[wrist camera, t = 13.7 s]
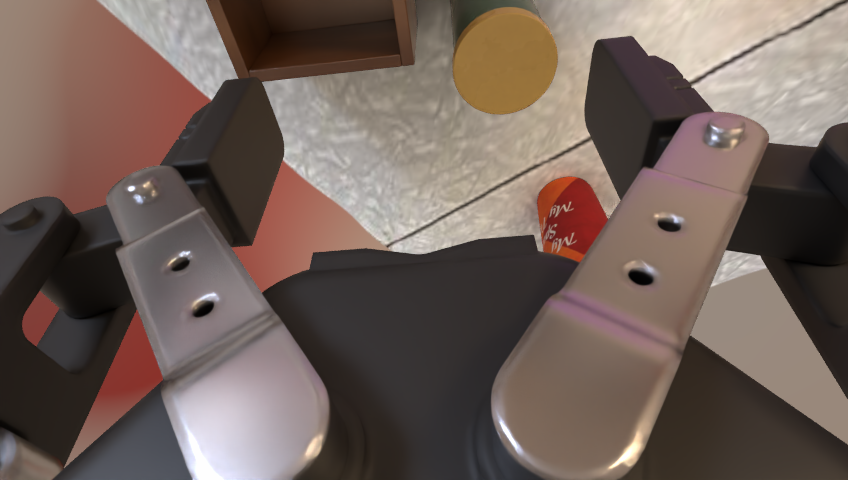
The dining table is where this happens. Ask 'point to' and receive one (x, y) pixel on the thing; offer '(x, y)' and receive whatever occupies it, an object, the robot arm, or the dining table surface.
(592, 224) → the coffee cup
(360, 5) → the chest
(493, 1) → the tea tin
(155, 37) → the dining table surface
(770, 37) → the dining table surface
